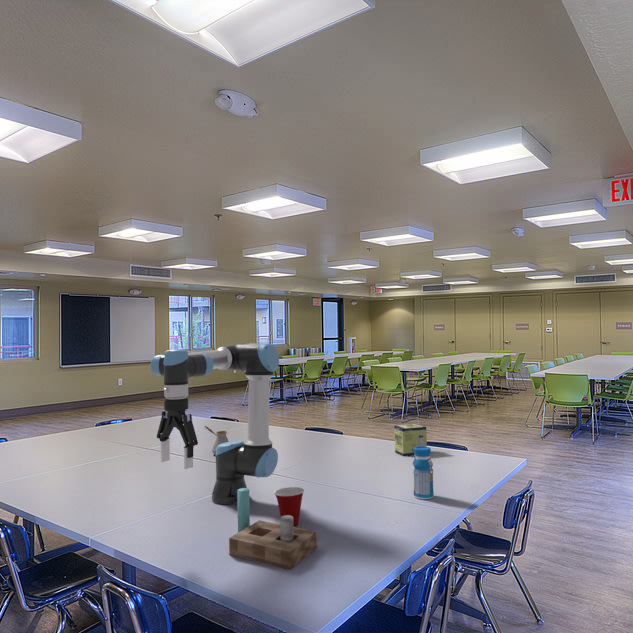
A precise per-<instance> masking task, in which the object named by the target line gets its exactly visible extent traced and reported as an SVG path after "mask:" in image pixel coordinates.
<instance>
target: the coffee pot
mask: <svg viewBox="0 0 633 633" xmlns="http://www.w3.org/2000/svg"><path fill="white" fill-rule="evenodd" d="M204 428H205V429H206V430H208V431H209V432H210V433H212V434H213V435H214V436H215V440H214V442H213V445H212V448H211V451H212V453H213V454H214V455H216V448H217V446H218V445H219V444H222V443H226V442H230V441H229V439H228V436H227V433H228V431H227V430H219V431H216V432H214V431H213V430H212V429H211V428H209V427H208V426H206V425H205V426H204Z"/></svg>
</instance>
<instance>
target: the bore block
mask: <svg viewBox="0 0 633 633" xmlns="http://www.w3.org/2000/svg"><path fill="white" fill-rule="evenodd" d="M317 535H318V534H317V531H316V530H310V529H305V528H300V527H296V526H294V527H293V516H290V515H285V516H282V517H281V516H280V523H275V522H270V521H265V520H260V519H259V520H257V521H255V522H253V523H252V524H250V526H249V527H247V528H245V529H244V530H242V531H240V532H238V531H237V532H236V533H235V534H233V535H232V536H230V537H229V538H228V544H229V546H228V549H229V551H228V552H229V553H228V555H229V556H234V557H238V558H243V559H245V560H250V561H254V562H258V563H261V564H266V565H270V566H275V567H278V568H281V569H286V570H290V571H291V570H292V569H293V568H295V567H296V566H297V565H298V564H300V562H302V561H303V560H304V559H305V558H307V557H308V556H309V555H310V554H311V553H313V552H314V551H315V550H316V549H317V548H318V544H317V542H318V539H317V537H318V536H317Z"/></svg>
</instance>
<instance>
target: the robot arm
mask: <svg viewBox="0 0 633 633" xmlns="http://www.w3.org/2000/svg"><path fill="white" fill-rule="evenodd" d="M279 366H280V356H279V352H278V349H277V348H276V346H274V345H273V344H271V343H268V342H256V343H255V342H252V343H249V342H248V343H244V342H242V343H235V344H232V345H231V344H230V345H226V346H220V347H218V348H216V349H213V350H204V351H192V352H188V350H187V349H167V350H165V351H164V354H159V355H155V356H153V358H152V359H151V362H150V371H151V372H152V374H153V375H155V376H157V377H158V376H159V377H163V385H164V386H163V387H164V388H163V392H164V394H163V395H164V396H163V397H165V399H164V400H163V409H164V411H161V418H160V423H159V425H158V430H157V434H156V439H159V442H160V462H161V463H164V462H169V461H170V460H171V459H170V458H171V456H170V452H171V450H170V447H171V446H170V444H171V443H170V442H171V441H170V436H171V433H172V431H173V430H174V428H175V429H176V430H178V431H179V433H180V436H181V438H182V440H183V443H184V447H183V448H184V449H183V452H184V453H183V459H184V460H183V466H184V467H183V469H185V470H187V469H191V468H194V447H195V446H197V445H198V444H199V441H198V437H197V435H196V430H195V427H194V424H193V418H192V417H193V415H192V414H191V413H188V414H186V411H187V410H188V409H189V398H188V397H189V378H196V377H197V378H198V377H204V376H209V375H210V374H211V372H213V370H216V369H218V370H220V371H225V370H226V371H227V370H228V371H229V370H230V371H231V370H232V371H241V372H244V374H245V375H244V376H245V377H246V378H247V379H248V400H247V401H248V403H247V404H248V407H247V408H248V410H247V411H248V412H247V438H246V439H245V441H244V440H231V441H229V442H226V443H222V444H219V445H218V446H217V448H216V455H215V454H214V455H215V473H216V474H215V483H214V486H213V490H212V493H211V501H212V502H213V503H215V504H220V505H231V504H232V505H233V504H238V493H237V490H238V489H241V488H248V486H247V482H246V480H245V476H247V477H256V478H268V477H271V475H272V474H273V473H274V472H275V470H276V468H277V465H278V461H279V454H278V451H277V449H276V448H274V447H273V442H272V440H271V439H270V434H269V433H270V386H271V385H270V382H271V381H270V380H271V379H272V377H274V372H276V371H277V370H278V368H279Z"/></svg>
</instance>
